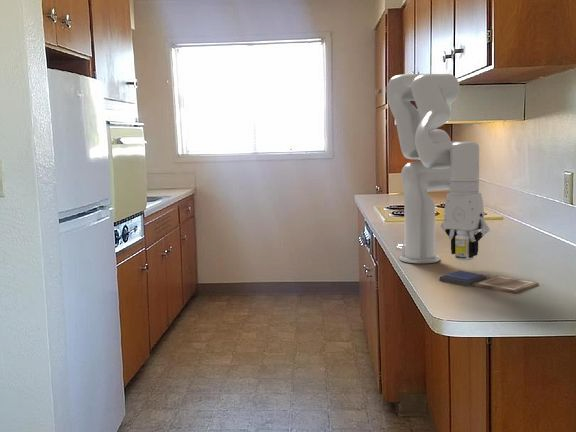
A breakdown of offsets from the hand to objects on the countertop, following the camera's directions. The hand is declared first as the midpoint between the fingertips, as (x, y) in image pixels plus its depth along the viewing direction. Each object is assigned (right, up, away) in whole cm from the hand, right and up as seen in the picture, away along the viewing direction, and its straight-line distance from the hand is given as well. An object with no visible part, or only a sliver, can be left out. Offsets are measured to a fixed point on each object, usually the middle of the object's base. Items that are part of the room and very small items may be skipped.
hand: (464, 253), depth 166 cm
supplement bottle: (0, -2, 0) cm, 2 cm away
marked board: (+10, -8, -5) cm, 13 cm away
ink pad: (0, -7, +2) cm, 8 cm away
